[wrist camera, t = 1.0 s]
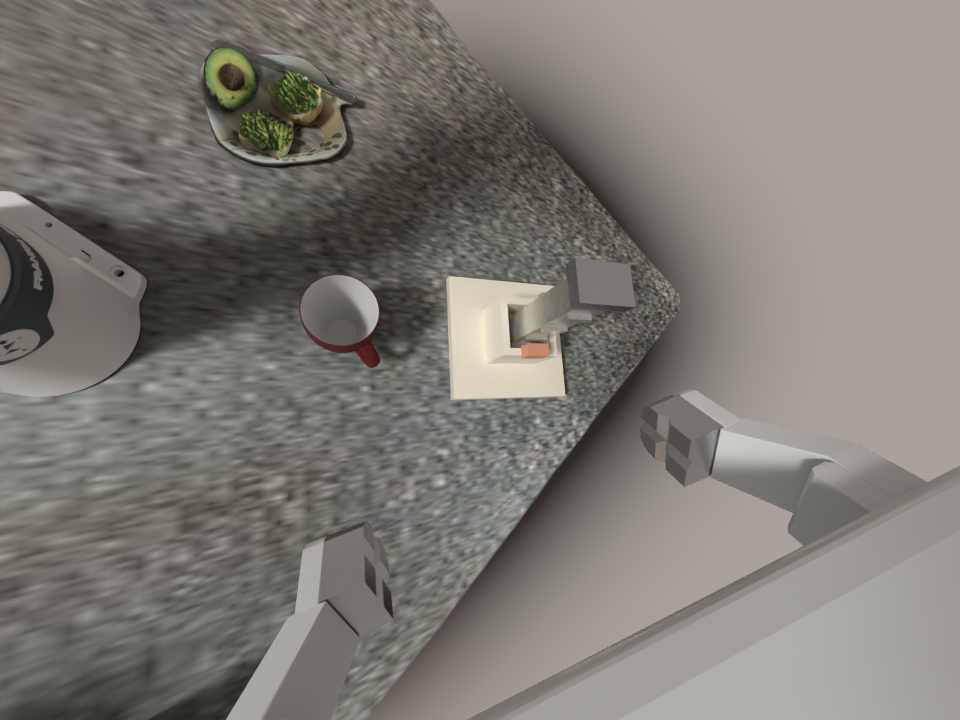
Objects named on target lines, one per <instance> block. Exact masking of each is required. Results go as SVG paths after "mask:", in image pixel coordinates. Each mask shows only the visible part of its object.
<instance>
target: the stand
mask: <svg viewBox="0 0 960 720" xmlns="http://www.w3.org/2000/svg"><path fill="white" fill-rule="evenodd" d="M446 282H447V308H448V334H449V360H450V386H451V400H469V399H504V398H538V397H562V396H565V386H564V375H563V364H562V353H561V343H560V333H556V334H554V335H552V336H549V337H548V340H547V341H545V342H536V343H527V344H525V345H523V346H521V348H510V336H509V321H508V316H509V315H514V314H515V313H517V312H518V311H519V310H521V307H522V306H523V305H528V304H530V303H531V302H532V301H534V300H535V299H537V298H538V295H539V294H540V293H542V292H547V291H548V290H550V289H551V288H553V287H554V286H548V285H537V284H526V283H516V282H505V281H495V280H484V279H474V278H463V277H452V276H449V277H448V279H447V280H446Z"/></svg>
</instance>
